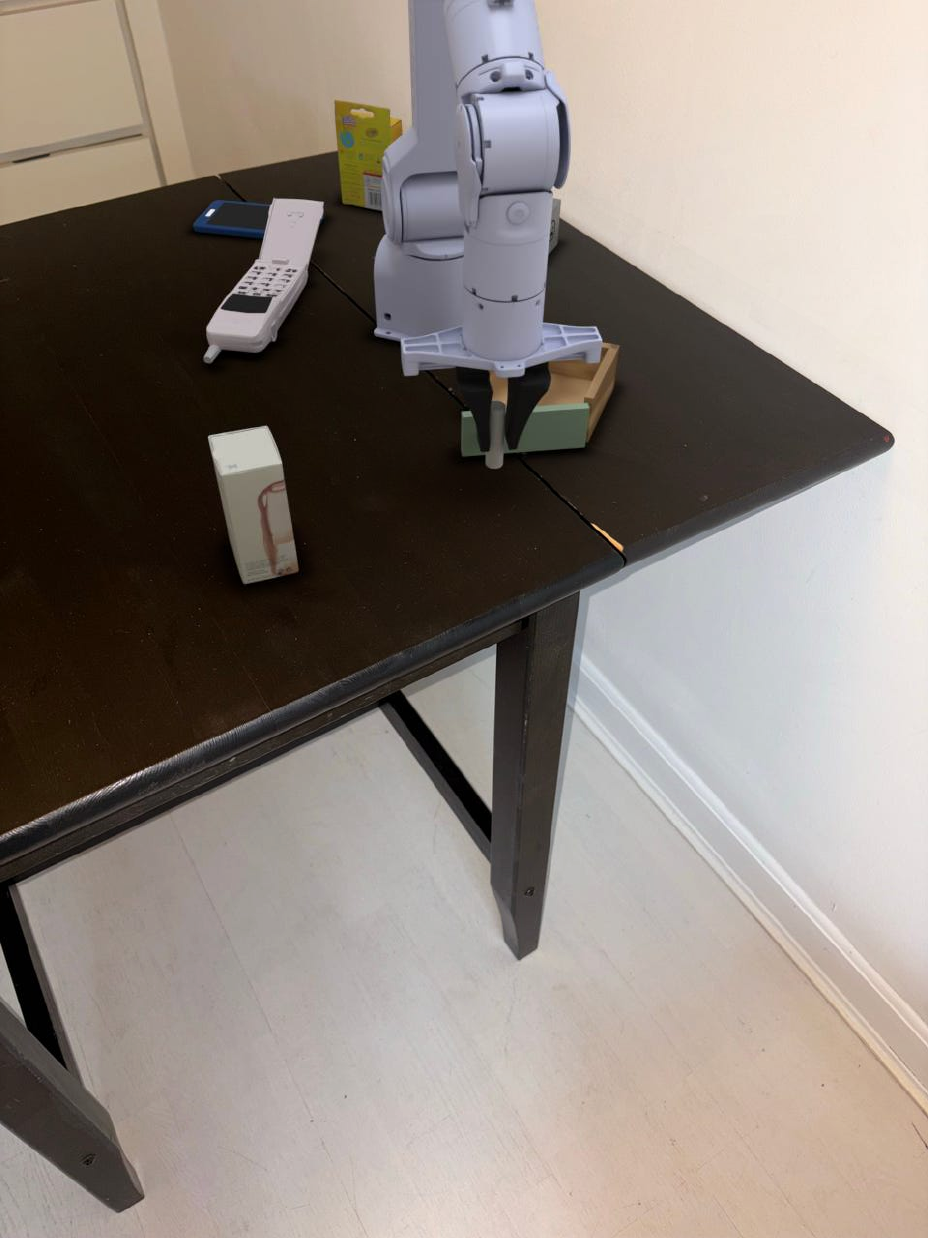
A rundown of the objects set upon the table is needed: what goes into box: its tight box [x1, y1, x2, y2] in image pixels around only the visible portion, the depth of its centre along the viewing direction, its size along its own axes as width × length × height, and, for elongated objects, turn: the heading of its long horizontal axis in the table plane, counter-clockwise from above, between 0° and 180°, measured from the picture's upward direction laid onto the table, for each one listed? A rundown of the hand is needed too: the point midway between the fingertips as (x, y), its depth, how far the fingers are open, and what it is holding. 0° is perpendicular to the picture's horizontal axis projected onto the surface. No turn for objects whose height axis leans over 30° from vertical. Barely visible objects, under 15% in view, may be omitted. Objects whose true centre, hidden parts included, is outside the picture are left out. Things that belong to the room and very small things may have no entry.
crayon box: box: [333, 99, 404, 212], centre depth 111 cm, size 7×3×12 cm, turn 66°
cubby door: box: [460, 401, 590, 470], centre depth 77 cm, size 11×5×7 cm, turn 98°
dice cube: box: [548, 197, 562, 255], centre depth 106 cm, size 5×5×5 cm
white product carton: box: [207, 425, 299, 585], centre depth 69 cm, size 5×4×10 cm
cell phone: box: [192, 199, 325, 240], centre depth 111 cm, size 7×14×1 cm, turn 79°
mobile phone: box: [202, 197, 325, 364], centre depth 96 cm, size 6×6×25 cm
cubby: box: [489, 341, 621, 443], centre depth 85 cm, size 11×9×4 cm
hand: (497, 443), depth 75 cm, fingers closed
